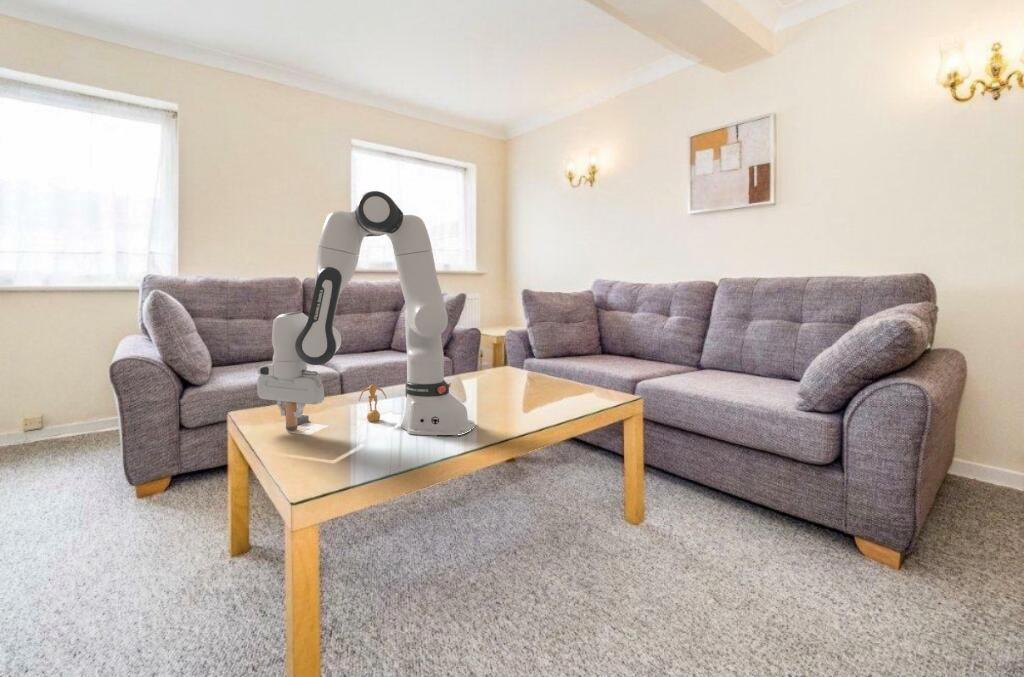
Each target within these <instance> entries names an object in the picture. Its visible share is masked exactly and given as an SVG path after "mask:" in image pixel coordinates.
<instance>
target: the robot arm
mask: <svg viewBox="0 0 1024 677" xmlns="http://www.w3.org/2000/svg"><path fill="white" fill-rule="evenodd" d="M423 220H424V219H422V218H421V217H419V216H417V215H413V214H404V213H403V211H402V210H401V208H400V207H399V206H398V204H396V202H395V201H394V200H393V198H392V197H390V196H389V195H388V194H386V193H385V192H382V191H378V190H371V191H367V192H365V193H364V194H362V195H361V196H360V198H359V199H358V201H357V202H356V207H355V210H353V211H350V212H348V211H345V210H336V211H333V212H330V213H329V214H328V215H327V217H326V219H325V221H324V223H323V226H322V229H321V232H320V236H319V240H318V244H317V246H318V247H317V250H316V260H315V280H314V289H313V294H312V300H311V304H310V310H309V314H308V315H306V314H305V313H304V312H301V311H292V312H287V313H282V314H281V313H280V314H278V315H277V316H276V317H275V318H274V319H273V323H272V329H271V330H272V331H271V333H272V334H271V345H272V348H273V355H272V362H271V363H269V364H266V365H262V366H260V367H258V368H257V374H258V375H259V376H258V378H257V382H256V383H257V384H256V386H257V388H256V389H257V395H258V397H259V398H260V399H262V400H270V401H276V405H277V407H278V409H279V410H280V416H281V417H286V412H285V401H286V402H295V403H296V406H297V410H296V411H294V412H293V414H294V417H296V418H300V417H302V415H303V414H302V410H303V411H304V408H305V406H306V405H312V406H313V405H314V406H315V405H319V404H321V403H323V402H324V400H325V390H324V384H323V377H322V375H321V374H320V373H319V372H318V371H314V370H313V371H312V370H308V365H311V366H320V365H324V364H326V363H328V362H329V361H331V359H333V357H334V356H335V354H336V353H337V352H338V350H339V349H340V348H341V345H342V343H343V342H342V340H343V338H342V337H343V336H342V334H341V332H340V330H339V329H338V328H336V327H335V326H334V321H335V316H336V312H337V307H338V301H339V299H340V295H341V294H342V292H343V290H344V288H345V287H346V286H347V285H348V283H349V282H351V280H352V278H353V276H354V275H355V272H356V269H357V265H358V262H359V257H360V252H361V251H360V250H361V246H362V243H363V240H364V238H365V237H380V236H384V235H385V236H386V237H388V239H389V240H390V241H391V245H392V248H393V253H394V254H393V255H394V259H395V264H396V269H397V275H398V280H399V284H400V288H401V291H402V294H403V299H404V302H405V308H406V309H405V312H404V328H405V329H404V330H405V345H406V377H407V378H406V381H405V398H406V401H405V402H406V403H405V408H404V409H405V410H404V415H403V419H402V423H401V427H402V429H404V430H405V431H407V433H408V434H409V435H420V436H437V435H458V434H462V433H465V432H467V431H469V430H470V429H472V428H473V427H474V425H475V426H476V423H475V421H474V420H471V419H469V415H468V411H467V408H466V406H465V405H464V404H463V403H462V402H461V401H459V400H458V399H457V398H456V397H455V396H453V395H452V394H451V393H450V388H451V385H452V383H451V382H449V383H447V381H446V380H444V377H445V376H444V372H445V371H444V369H445V368H444V365H445V364H444V363H445V362H444V361H445V358H444V357H445V355H444V350H443V349H444V348H443V340H442V334H443V333H444V332H445V331H446V329H447V327H448V324H449V317H448V313H447V309H446V304H445V300H444V296H443V292H442V289H441V286H440V283H439V279H438V275H437V270H436V263H435V259H434V253H433V248H432V243H431V240H430V235H429V233H428V229H427V226H426V224H425V222H424V221H423ZM474 428H475V427H474Z"/></svg>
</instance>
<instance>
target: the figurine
mask: <svg viewBox="0 0 1024 677" xmlns="http://www.w3.org/2000/svg"><path fill="white" fill-rule="evenodd" d="M367 391H368V392H369V394H370V395H368V397H367V398H368V402H369V411H368V413H367V415H366V419H367V421H368V422H370V423H375V422H379V421H380V418H381V414H380V412H379V411H378V410H377V405H378V404H377V403H378V395H377V394H376V392H377V391H380V392H381V393H382V394H383V395H384V398H385V399H387V395H386V393H385V392H384V389H383V388H380V387H378V386H376V385H374V383H372V384H370V385H369V386H368V387H366V388H365V389H363V390H361V393H360V395H359V399H358V401H361V399H362V396H363V394H364V392H367ZM372 401H373V402H374V409H373V408H372V407H373V406H372V405H373V404H372Z"/></svg>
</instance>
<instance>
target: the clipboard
mask: <svg viewBox="0 0 1024 677" xmlns="http://www.w3.org/2000/svg"><path fill="white" fill-rule="evenodd" d="M309 418H310V417H309V415H307V414H302V417H300V418H297V429H295V430H286V429H285V430H284V431H283V432H284V433H290V434H291V433H292V434H296V435H307V436H311V435H313V434H315V433H317V432H319V431H322V430H324V429H326V428H329V427H330V425H325V424H318V423H311V422H310V423H309V421H310V420H309Z"/></svg>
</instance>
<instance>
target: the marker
mask: <svg viewBox="0 0 1024 677" xmlns="http://www.w3.org/2000/svg"><path fill="white" fill-rule="evenodd" d="M297 408H298V406H296V403H295V402H286V401H285V412H286V416H285V431H286V430H295V429H297V426H298V425H297V418H296V417H294V414H293V412H294V411H296V410H297Z"/></svg>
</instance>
